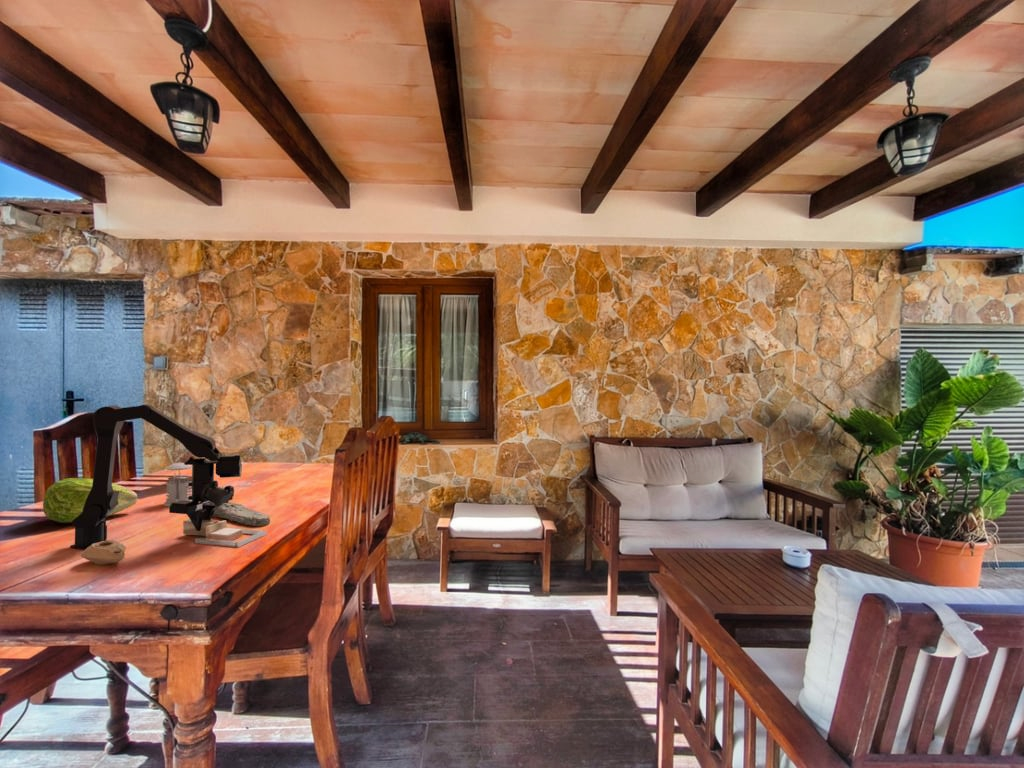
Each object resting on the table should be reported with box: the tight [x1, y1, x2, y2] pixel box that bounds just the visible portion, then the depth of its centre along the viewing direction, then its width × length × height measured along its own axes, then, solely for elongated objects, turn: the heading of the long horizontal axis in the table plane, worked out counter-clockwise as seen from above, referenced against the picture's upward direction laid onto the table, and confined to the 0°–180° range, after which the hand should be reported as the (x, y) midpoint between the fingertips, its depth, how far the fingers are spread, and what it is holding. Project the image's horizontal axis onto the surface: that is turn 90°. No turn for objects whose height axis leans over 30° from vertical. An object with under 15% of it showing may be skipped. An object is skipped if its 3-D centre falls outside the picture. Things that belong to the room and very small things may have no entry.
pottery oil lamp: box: [80, 539, 127, 566], centre depth 130 cm, size 9×12×7 cm
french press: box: [162, 439, 192, 507], centre depth 190 cm, size 10×12×25 cm
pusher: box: [182, 518, 227, 539], centre depth 153 cm, size 7×11×4 cm, turn 79°
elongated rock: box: [212, 501, 271, 527], centre depth 174 cm, size 35×5×10 cm
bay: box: [194, 526, 267, 548], centre depth 151 cm, size 12×14×1 cm
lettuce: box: [42, 477, 138, 524], centre depth 169 cm, size 17×24×14 cm
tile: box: [209, 527, 243, 541], centre depth 152 cm, size 6×6×2 cm
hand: (202, 529), depth 153 cm, fingers closed on pusher, 2 cm apart
